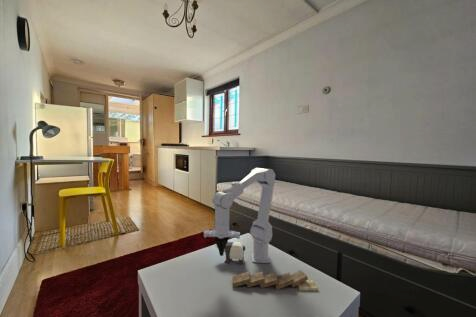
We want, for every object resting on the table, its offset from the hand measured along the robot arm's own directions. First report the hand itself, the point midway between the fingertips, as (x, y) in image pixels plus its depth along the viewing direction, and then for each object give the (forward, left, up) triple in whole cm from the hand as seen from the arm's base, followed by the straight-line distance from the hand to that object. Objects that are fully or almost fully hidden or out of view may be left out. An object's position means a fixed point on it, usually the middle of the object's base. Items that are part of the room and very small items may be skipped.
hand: (221, 254), depth 81 cm
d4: (+3, +22, -9) cm, 24 cm away
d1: (+3, +5, -9) cm, 11 cm away
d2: (+3, +11, -9) cm, 14 cm away
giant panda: (-13, +3, -10) cm, 17 cm away
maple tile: (+3, +30, -10) cm, 32 cm away
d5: (+2, +27, -9) cm, 29 cm away
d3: (+3, +16, -9) cm, 18 cm away
